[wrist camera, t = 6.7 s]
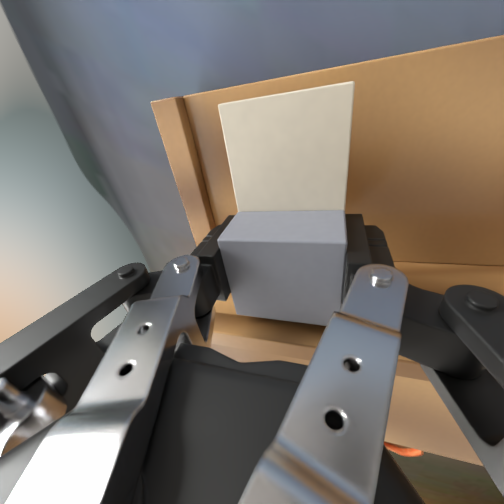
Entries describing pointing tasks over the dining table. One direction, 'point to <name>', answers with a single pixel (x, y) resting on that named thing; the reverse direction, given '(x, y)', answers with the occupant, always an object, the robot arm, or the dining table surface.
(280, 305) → the block chair shape
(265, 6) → the dining table surface
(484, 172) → the stepped wooden ledge
